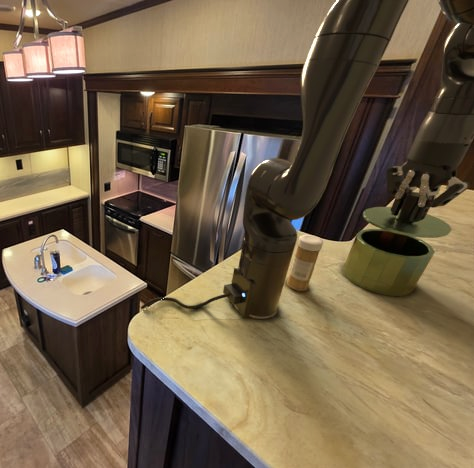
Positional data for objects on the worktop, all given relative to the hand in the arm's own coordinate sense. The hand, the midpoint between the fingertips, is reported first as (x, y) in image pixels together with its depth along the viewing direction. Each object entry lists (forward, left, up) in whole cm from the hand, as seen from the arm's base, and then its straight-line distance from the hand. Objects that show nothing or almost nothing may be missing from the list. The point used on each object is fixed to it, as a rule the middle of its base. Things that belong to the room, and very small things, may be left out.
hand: (405, 217), depth 64 cm
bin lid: (0, 0, -1) cm, 1 cm away
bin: (0, 0, -17) cm, 17 cm away
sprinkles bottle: (-20, +3, -17) cm, 26 cm away
